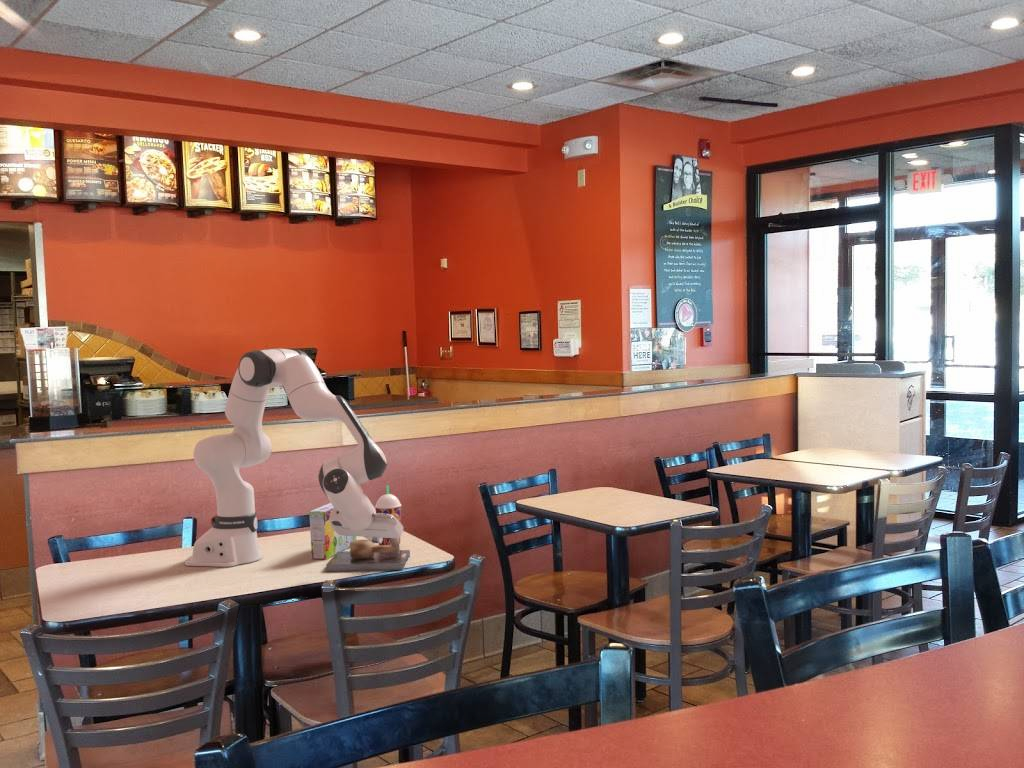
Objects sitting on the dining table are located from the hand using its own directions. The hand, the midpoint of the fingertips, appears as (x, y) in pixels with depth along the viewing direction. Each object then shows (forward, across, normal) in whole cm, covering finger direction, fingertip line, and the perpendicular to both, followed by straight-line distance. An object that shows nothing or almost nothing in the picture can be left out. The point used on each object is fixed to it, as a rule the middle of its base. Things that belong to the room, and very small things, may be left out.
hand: (377, 541), depth 257 cm
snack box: (+20, +27, -7) cm, 34 cm away
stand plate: (+12, +8, +1) cm, 14 cm away
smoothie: (+26, +12, -13) cm, 31 cm away
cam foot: (+10, +6, -1) cm, 12 cm away
